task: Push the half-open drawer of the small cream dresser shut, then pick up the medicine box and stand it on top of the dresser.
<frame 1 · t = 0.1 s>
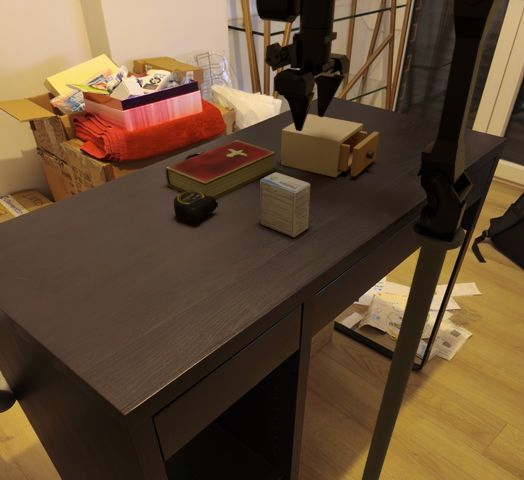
hand: (310, 123, 91), 13 cm above the table, tool pointing down, fingers open, 9 cm apart
drawer: (343, 149, 105), point 4 cm above the table, slide at 3.0 cm
medicine box: (283, 228, 87), on the table
hardcover book: (222, 178, 103), on the table
tape measure: (197, 217, 90), on the table
cabinet: (320, 161, 110), on the table
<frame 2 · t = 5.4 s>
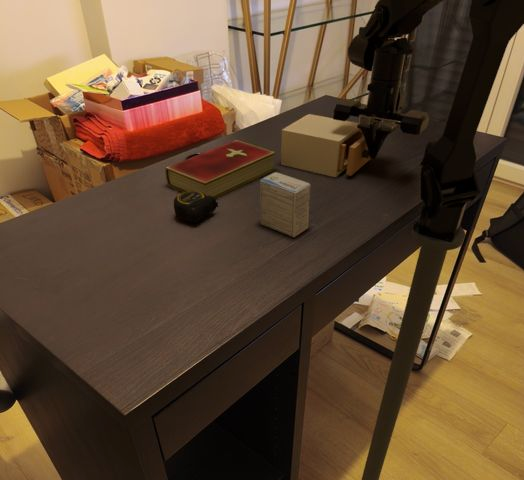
hand: (373, 158, 103), 3 cm above the table, tool pointing down, fingers closed
drawer: (339, 148, 105), point 4 cm above the table, slide at 2.1 cm, touching gripper
everything else where it was.
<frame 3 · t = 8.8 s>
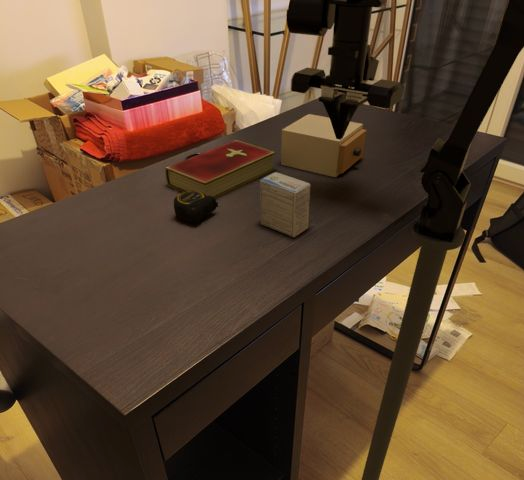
hand: (339, 138, 88), 12 cm above the table, tool pointing down, fingers closed
drawer: (331, 146, 106), point 4 cm above the table, slide at 0.0 cm, touching cabinet
everything else where it was.
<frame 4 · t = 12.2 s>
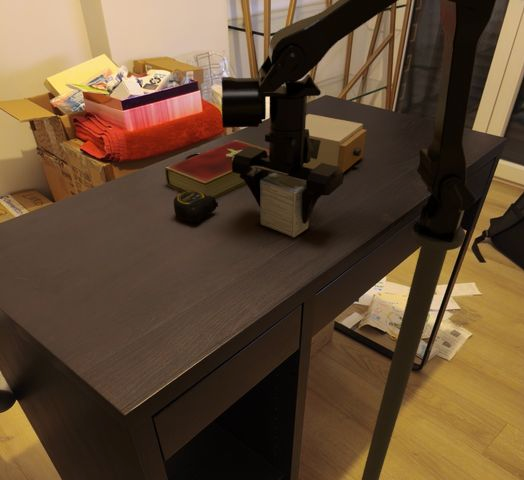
hand: (284, 216, 86), 2 cm above the table, tool pointing down, fingers closed on medicine box, 8 cm apart
medicine box: (283, 228, 87), on the table, touching gripper
everything else where it was.
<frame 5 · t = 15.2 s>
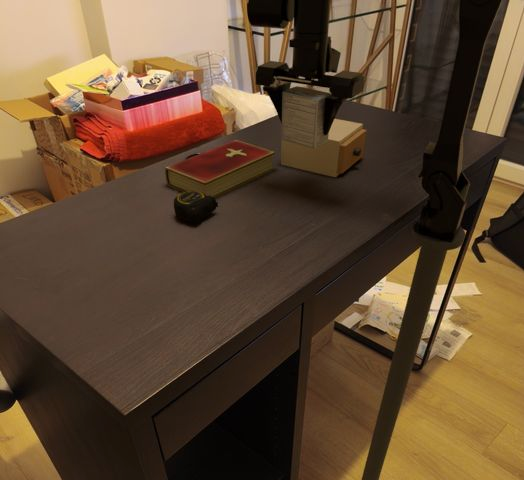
hand: (305, 130, 88), 12 cm above the table, tool pointing down, fingers closed on medicine box, 8 cm apart
medicine box: (304, 143, 90), point 10 cm above the table, touching gripper
everything else where it was.
when the fingers open (10 cm above the table, at t = 18.2 s): medicine box stays where it is, resting on cabinet.
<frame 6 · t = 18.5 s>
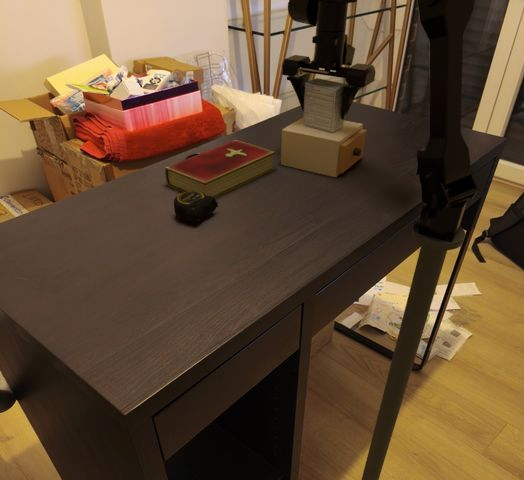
hand: (323, 115, 103), 10 cm above the table, tool pointing down, fingers open, 9 cm apart
medicine box: (322, 127, 104), point 7 cm above the table, touching cabinet
everything else where it was.
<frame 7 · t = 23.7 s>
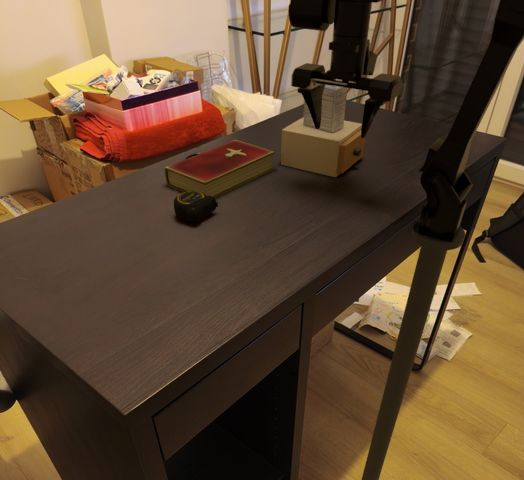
hand: (340, 133, 89), 12 cm above the table, tool pointing down, fingers open, 9 cm apart
nothing on the table moved.
at the end: drawer slide at 0.0 cm; medicine box inside the target area on the cabinet (0.1 cm from its centre), point 7.4 cm above the cabinet's base; medicine box tilted 0° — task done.
